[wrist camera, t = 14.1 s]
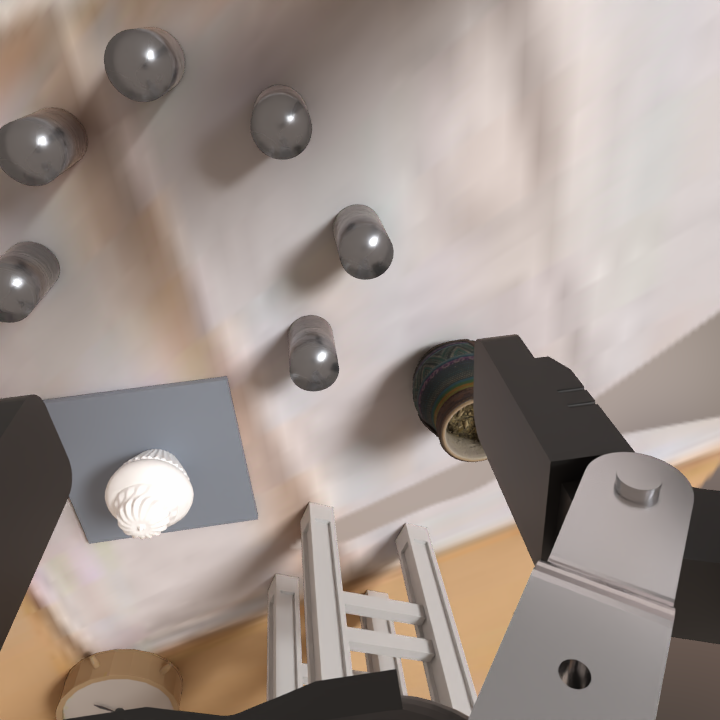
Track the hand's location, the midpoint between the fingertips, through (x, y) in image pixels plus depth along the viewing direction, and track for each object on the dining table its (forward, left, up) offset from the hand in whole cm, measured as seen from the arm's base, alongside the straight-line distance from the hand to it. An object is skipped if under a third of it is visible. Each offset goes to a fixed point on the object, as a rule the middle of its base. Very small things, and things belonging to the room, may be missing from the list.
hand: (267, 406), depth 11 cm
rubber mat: (+13, +23, -29) cm, 40 cm away
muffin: (+12, +23, -29) cm, 39 cm away
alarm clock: (+23, +52, -30) cm, 64 cm away
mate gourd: (-11, +18, -30) cm, 37 cm away
